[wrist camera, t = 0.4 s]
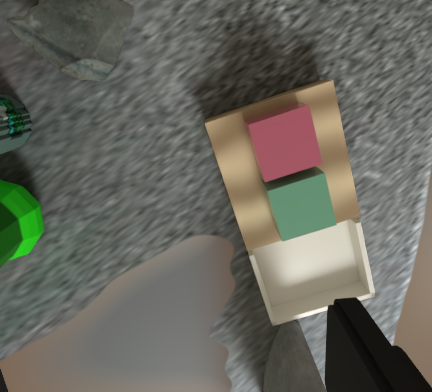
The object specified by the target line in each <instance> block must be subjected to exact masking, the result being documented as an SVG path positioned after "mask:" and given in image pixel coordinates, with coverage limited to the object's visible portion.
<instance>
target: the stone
mask: <svg viewBox="0 0 432 392" xmlns="http://www.w3.org/2000/svg"><path fill="white" fill-rule="evenodd" d="M133 8H134V7H133V6H132V5H130V4H128V3H127V2H125V1H123V0H39V1H38V5H36V6H34V7H31V8H30V10H29V12H28V14H26V15H25V16H23V17H20V16H18V17H13V18H10V19H8V20H7V23H8V24H9V26H10V27H11V29H12V30H13V32H14V34H15V35H16V36H18V37H19V38H20V39H21V41H22V42H23V44H24V45H25V46H33V48H34V50H35V51H36V52H37V53H39V54H40V55H41V56H42V57H44V58H45V59H47V60H49V61H50V62H52V63H53V64H54V65H55V66H57V67H58V68H59V70H60V71H61V72H63V73H65V74H66V75H70V76H72V77H74V78H76V79H78V80H85V79H88V80H94V81H102V80H105V79H106V78H107V76H108V75H109V73H110V72H111V70H112V69H113V68H114V65H115V63H116V61H117V58H118V55H119V54H120V48H121V46H122V44H123V42H124V38H125V33H126V31H127V30H128V28H129V26H130V24H131V21H132V19H133V16H134V14H133Z"/></svg>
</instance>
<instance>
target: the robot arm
mask: <svg viewBox="0 0 432 392" xmlns="http://www.w3.org/2000/svg"><path fill="white" fill-rule="evenodd" d="M325 386H326V390H327V392H432V388H431V386H430V385H429V384H428V382H427V381H426V380H425V378H424V377H423V376H422V374H421V373H420V372H419V370H418V369H417V368H416V366H415V365H414V364H413V362H412V361H411V360H410V358H409V357H408V356H407V354H406V353H405V352H404V351H403V350H402V349H401V348H400V347H398V346H392V345H391V344H390V343H389V341H388V340H387V338H386V337H385V336H384V334H383V333H382V331H381V330H380V329H379V327H378V326H377V324H376V323H375V322H374V320H373V319H372V317H371V316H370V315H369V313H368V312H367V310H366V309H365V308H364V306H363V305H362V304H361V302H360V301H359V300H358V298H356V297H352V298H340V299H335V300H334V303H333V305H328V309H327V334H326V361H325ZM0 392H8V389H7V387H6V384H5V381H4V378H3V375H2V372H1V369H0Z"/></svg>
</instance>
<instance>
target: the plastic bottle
mask: <svg viewBox="0 0 432 392" xmlns="http://www.w3.org/2000/svg"><path fill="white" fill-rule="evenodd" d="M43 231H44V221H43V216H42V210H41V204H40V203H39V202H38V201H37V200H36V199H35V198H34V197H33V196H32V195H31V194H30V193H29V192H28V191H27V190H26V189H25V188H24V187H23V186H21V185H17V184H14V183H10V182H6V181H3V180H0V267H2V266H3V265H4V264H5V263H6V262H7V261H8V260H11V259H14V258H17V257H20V256H23V255H26V254H28V253H29V252H30V251H31V250H32V249H33V247H34V246H35V244H36V242H37V241H38V239H39V237H40V236H41V234H42V233H43Z"/></svg>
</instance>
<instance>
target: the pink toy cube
mask: <svg viewBox="0 0 432 392" xmlns="http://www.w3.org/2000/svg"><path fill="white" fill-rule="evenodd" d="M243 121H244V124H245V127H246V131H247V134H248V138H249V141H250V144H251V148H252V151H253V154H254V158H255V161H256V165H257V168H258V171H259V174H260V175H261V177H262V178H263V180H264V182H268V181H271V180H274V179H277V178H280V177H283V176H286V175H289V174H292V173H296V172H299V171H302V170H305V169H308V168H311V167H314V166H317V165H320V164H323V163H322V158H321V154H320V150H319V145H318V141H317V137H316V132H315V128H314V124H313V119H312V115H311V110H310V106H309V105H308V104H304V103H299V102H297V103H294V104H291V105H288V106H285V107H282V108H279V109H276V110H273V111H270V112H267V113H264V114H261V115H258V116H255V117H252V118H249V119H246V120H243Z"/></svg>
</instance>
